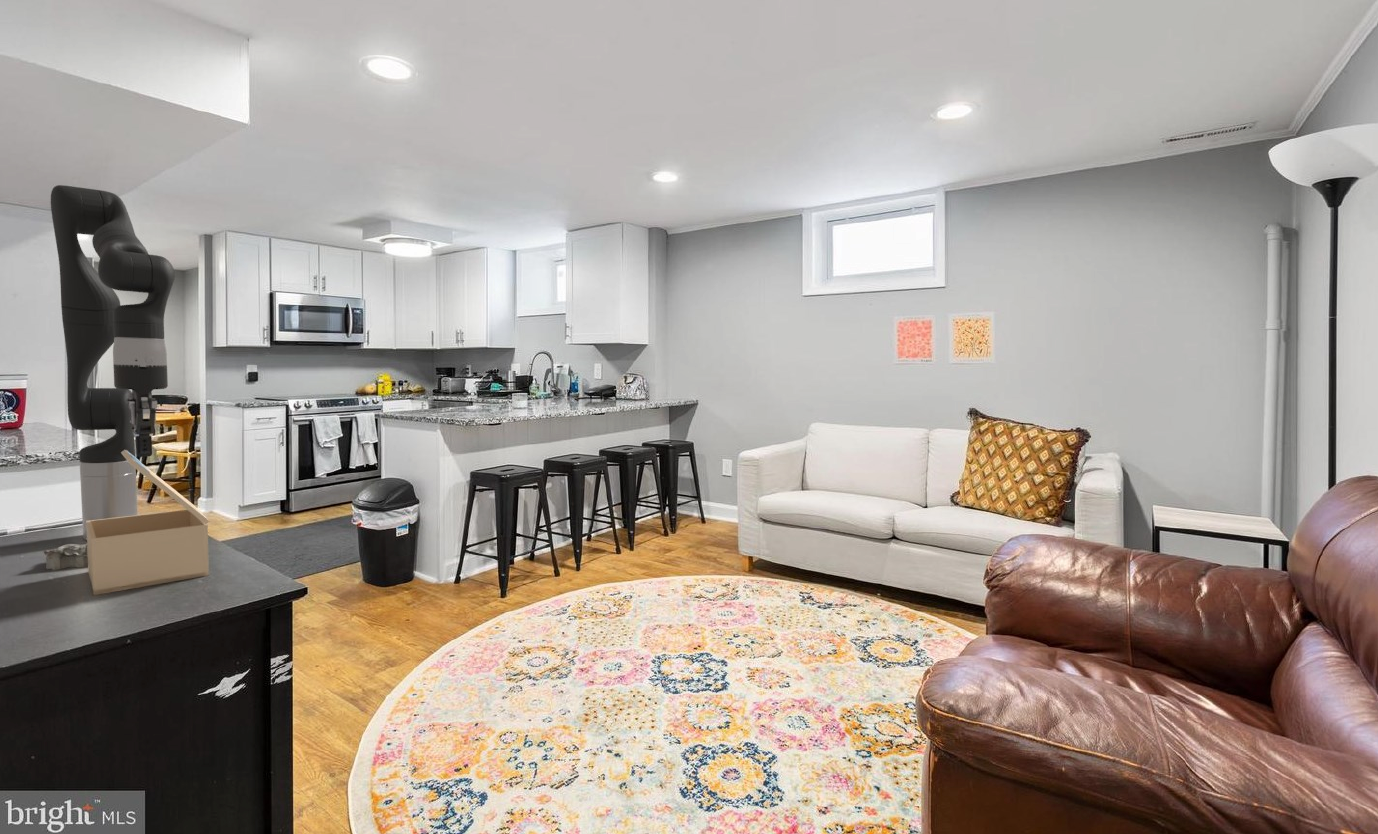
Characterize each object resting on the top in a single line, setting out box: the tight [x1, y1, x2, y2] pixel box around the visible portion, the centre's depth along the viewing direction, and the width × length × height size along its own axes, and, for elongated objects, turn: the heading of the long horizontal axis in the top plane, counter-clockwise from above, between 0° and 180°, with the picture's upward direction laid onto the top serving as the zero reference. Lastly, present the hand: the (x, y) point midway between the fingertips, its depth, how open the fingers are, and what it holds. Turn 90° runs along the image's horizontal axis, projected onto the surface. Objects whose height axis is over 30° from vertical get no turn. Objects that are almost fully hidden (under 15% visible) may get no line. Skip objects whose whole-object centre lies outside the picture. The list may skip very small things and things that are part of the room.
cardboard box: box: [86, 509, 210, 596], centre depth 121 cm, size 16×16×10 cm
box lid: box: [121, 450, 210, 525], centre depth 122 cm, size 16×16×1 cm
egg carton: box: [43, 543, 88, 571], centre depth 126 cm, size 11×8×4 cm
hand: (144, 456), depth 119 cm, fingers closed
